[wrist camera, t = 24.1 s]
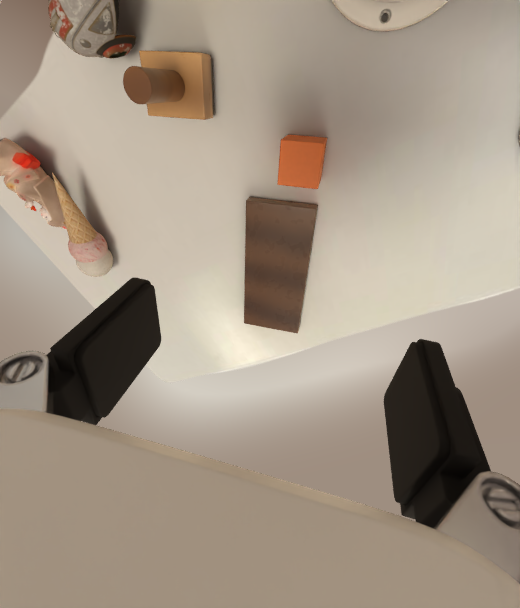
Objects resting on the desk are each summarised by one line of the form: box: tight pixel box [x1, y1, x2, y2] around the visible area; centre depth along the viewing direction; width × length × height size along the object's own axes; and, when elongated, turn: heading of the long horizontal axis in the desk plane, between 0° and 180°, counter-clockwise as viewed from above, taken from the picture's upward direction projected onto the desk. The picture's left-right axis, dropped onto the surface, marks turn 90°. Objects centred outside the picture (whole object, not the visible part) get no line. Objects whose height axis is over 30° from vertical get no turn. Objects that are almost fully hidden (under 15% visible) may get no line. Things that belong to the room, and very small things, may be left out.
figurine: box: [0, 138, 67, 229], centre depth 39 cm, size 9×7×12 cm
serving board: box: [244, 197, 318, 333], centre depth 40 cm, size 18×8×2 cm, turn 178°
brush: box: [123, 51, 214, 120], centre depth 27 cm, size 5×6×9 cm
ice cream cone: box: [52, 173, 113, 277], centre depth 40 cm, size 5×5×15 cm
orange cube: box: [278, 135, 327, 189], centre depth 31 cm, size 4×4×4 cm
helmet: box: [48, 0, 136, 58], centre depth 26 cm, size 6×8×7 cm
